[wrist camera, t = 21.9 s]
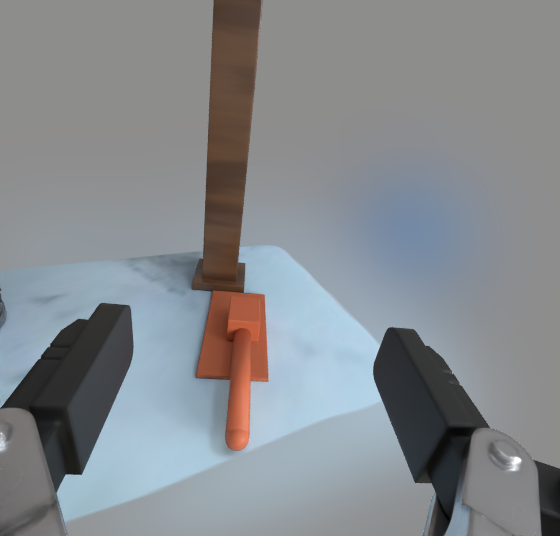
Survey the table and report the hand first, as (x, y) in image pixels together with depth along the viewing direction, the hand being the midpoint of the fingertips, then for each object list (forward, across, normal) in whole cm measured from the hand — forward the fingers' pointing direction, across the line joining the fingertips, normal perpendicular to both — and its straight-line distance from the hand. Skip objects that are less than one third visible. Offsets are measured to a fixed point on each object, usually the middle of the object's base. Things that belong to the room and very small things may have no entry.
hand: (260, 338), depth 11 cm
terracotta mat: (+19, 0, +15) cm, 24 cm away
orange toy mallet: (+13, 0, +15) cm, 20 cm away
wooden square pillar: (+29, +3, +15) cm, 33 cm away
